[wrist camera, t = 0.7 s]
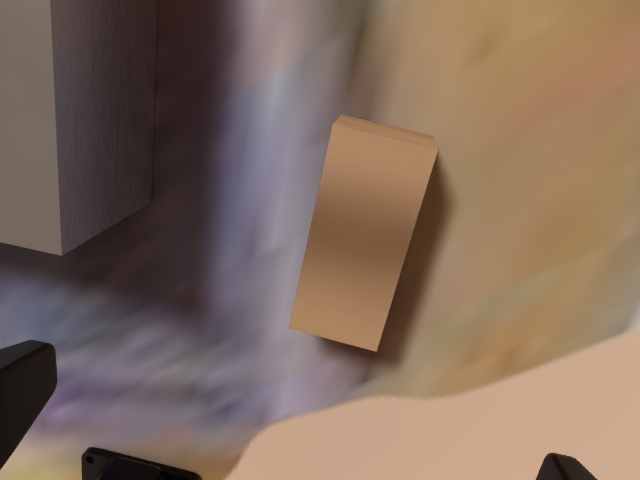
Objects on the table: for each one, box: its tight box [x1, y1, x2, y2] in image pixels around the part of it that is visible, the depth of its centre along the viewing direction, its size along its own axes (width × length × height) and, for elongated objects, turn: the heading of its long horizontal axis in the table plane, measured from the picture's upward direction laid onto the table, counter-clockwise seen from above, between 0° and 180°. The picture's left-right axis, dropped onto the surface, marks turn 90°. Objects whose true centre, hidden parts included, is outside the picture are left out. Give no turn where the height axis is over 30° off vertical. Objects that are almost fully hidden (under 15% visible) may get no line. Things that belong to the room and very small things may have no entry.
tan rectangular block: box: [289, 115, 438, 352], centre depth 19 cm, size 8×4×3 cm, turn 168°
